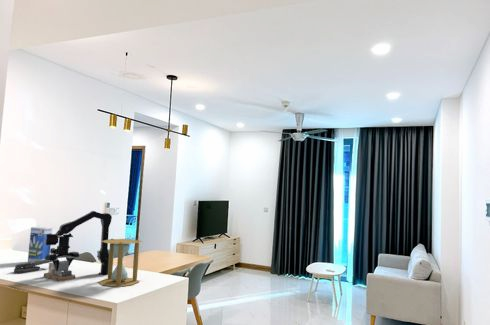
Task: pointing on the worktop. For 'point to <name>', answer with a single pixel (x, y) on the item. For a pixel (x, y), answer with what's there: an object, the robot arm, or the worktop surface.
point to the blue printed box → (38, 244)
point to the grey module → (62, 266)
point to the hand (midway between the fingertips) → (61, 270)
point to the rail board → (58, 274)
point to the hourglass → (120, 273)
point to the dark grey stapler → (29, 267)
